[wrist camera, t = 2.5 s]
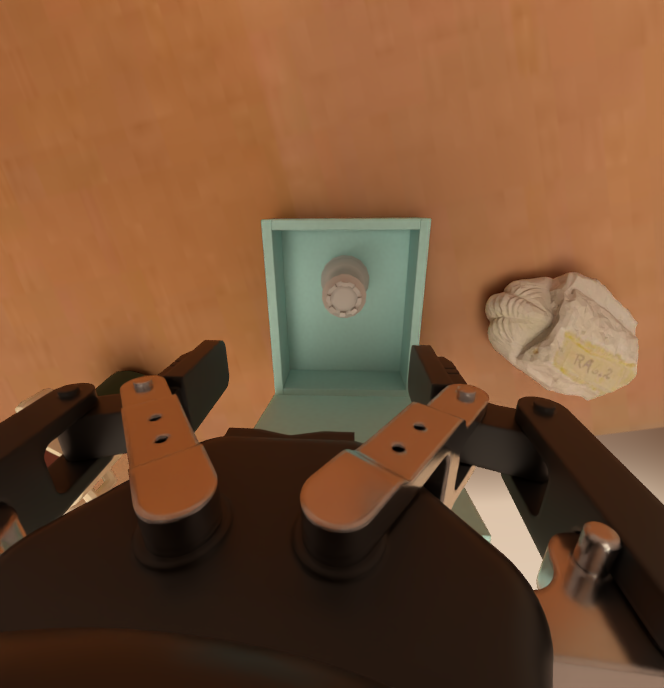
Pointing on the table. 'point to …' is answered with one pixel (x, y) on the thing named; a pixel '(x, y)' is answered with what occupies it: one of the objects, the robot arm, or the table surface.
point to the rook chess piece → (344, 286)
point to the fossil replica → (565, 334)
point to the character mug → (54, 449)
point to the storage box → (353, 332)
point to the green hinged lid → (349, 427)
